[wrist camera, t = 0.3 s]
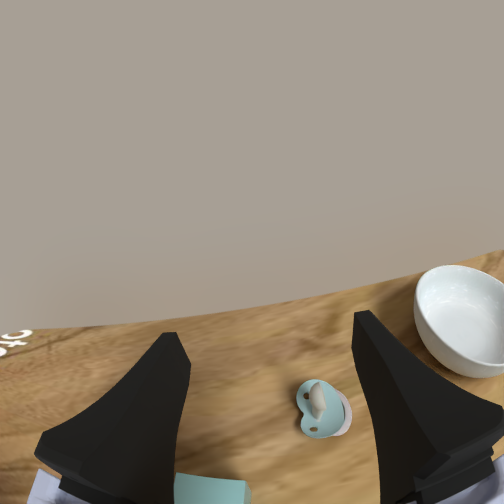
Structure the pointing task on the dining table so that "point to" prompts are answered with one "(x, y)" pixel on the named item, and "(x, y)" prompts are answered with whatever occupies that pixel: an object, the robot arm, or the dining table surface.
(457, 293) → the serving bowl
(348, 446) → the dining table surface
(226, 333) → the dining table surface
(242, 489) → the teal block
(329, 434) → the pacifier
